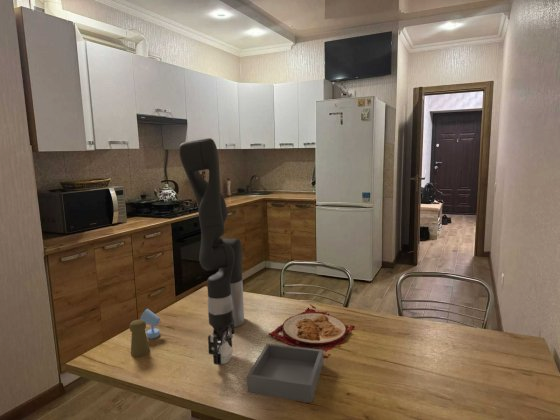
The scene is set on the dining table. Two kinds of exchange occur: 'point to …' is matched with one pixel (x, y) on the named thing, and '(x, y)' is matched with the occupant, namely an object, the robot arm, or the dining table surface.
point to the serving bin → (286, 372)
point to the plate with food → (312, 330)
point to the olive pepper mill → (139, 338)
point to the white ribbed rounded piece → (225, 352)
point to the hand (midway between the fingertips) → (223, 356)
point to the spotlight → (153, 320)
